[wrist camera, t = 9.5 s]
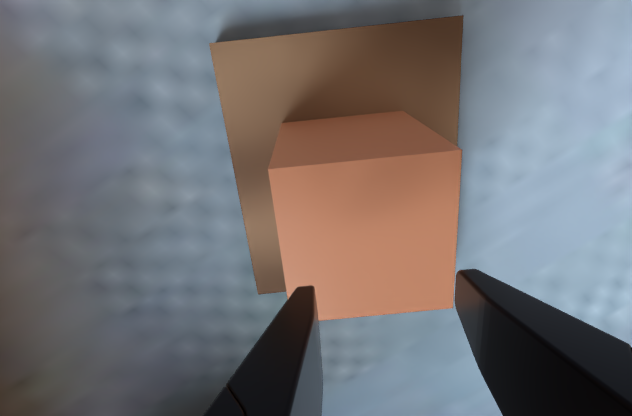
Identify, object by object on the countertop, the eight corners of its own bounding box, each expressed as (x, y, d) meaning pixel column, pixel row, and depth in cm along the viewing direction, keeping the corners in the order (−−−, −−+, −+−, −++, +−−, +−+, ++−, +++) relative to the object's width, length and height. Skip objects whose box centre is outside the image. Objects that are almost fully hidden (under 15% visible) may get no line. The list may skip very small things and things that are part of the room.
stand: (444, 264, 20) (508, 365, 14) (260, 283, 21) (240, 391, 14) (454, 17, 16) (557, -3, 9) (214, 43, 16) (153, 42, 9)
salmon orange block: (403, 220, 18) (452, 307, 12) (295, 231, 18) (291, 323, 12) (402, 110, 16) (462, 150, 10) (281, 122, 16) (267, 169, 10)
